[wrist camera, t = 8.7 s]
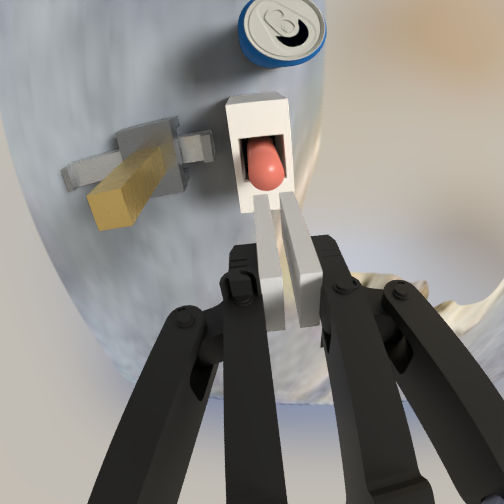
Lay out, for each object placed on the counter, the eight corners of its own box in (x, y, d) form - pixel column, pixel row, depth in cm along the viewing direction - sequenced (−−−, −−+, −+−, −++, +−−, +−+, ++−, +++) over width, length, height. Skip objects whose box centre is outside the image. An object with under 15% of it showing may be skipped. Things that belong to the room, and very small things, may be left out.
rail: (72, 162, 32) (60, 170, 29) (212, 129, 31) (209, 134, 28) (78, 182, 33) (68, 191, 31) (216, 153, 32) (213, 161, 30)
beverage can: (268, 79, 28) (283, 83, 18) (226, 40, 25) (217, 22, 15) (312, 45, 25) (349, 33, 15) (271, 4, 22) (286, -29, 13)
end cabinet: (230, 96, 29) (225, 105, 21) (276, 91, 28) (287, 98, 21) (241, 178, 34) (241, 213, 27) (283, 173, 34) (295, 207, 27)
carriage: (128, 125, 29) (60, 170, 17) (177, 114, 29) (130, 150, 17) (144, 186, 34) (95, 259, 22) (190, 178, 34) (160, 251, 22)
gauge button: (245, 135, 27) (246, 159, 20) (272, 132, 27) (283, 156, 20) (248, 160, 28) (250, 192, 22) (274, 157, 28) (285, 189, 21)
